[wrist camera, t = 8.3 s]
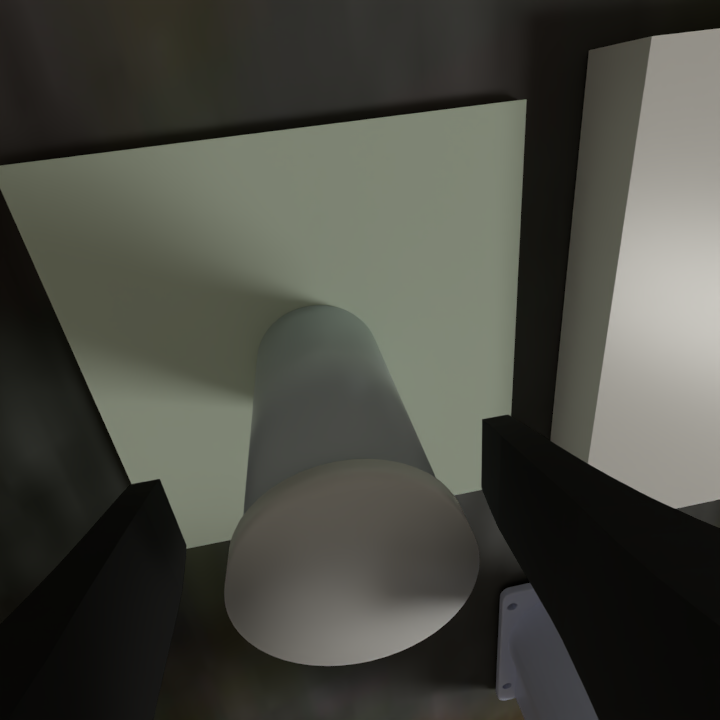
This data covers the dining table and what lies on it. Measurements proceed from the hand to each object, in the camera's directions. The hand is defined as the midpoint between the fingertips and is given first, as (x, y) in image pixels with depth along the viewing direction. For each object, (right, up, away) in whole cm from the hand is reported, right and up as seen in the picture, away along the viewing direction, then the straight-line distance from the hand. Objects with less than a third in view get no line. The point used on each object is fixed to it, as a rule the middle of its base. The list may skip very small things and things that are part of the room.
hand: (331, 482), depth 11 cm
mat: (-1, +3, +5) cm, 6 cm away
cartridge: (-1, +3, +5) cm, 6 cm away
